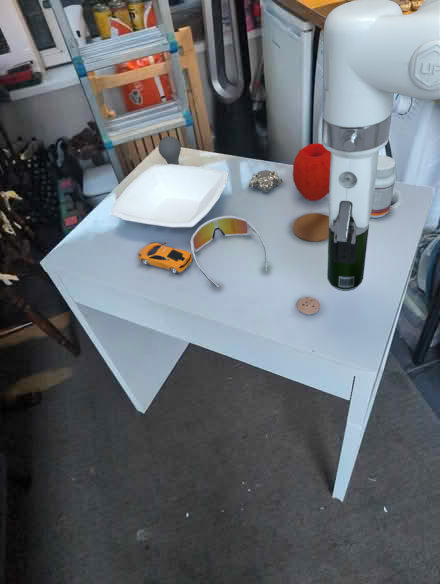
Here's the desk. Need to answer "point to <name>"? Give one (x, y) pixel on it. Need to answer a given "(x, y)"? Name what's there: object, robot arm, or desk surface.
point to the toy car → (165, 257)
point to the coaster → (312, 227)
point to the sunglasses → (227, 228)
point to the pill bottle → (383, 186)
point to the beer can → (345, 273)
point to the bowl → (171, 195)
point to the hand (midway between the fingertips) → (347, 246)
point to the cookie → (308, 305)
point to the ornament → (265, 180)
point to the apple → (312, 171)
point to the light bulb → (170, 149)
